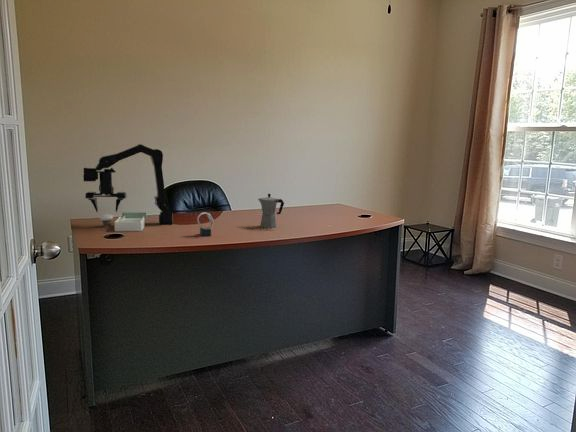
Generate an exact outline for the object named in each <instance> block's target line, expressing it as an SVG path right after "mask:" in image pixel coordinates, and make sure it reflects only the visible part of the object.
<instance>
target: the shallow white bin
mask: <svg viewBox="0 0 576 432" xmlns="http://www.w3.org/2000/svg"><path fill="white" fill-rule="evenodd" d="M121 219H122V216H119V217H118V218H117V219H116V220H115V221H114V232H142V231H143V229H144V227H145V225H146V220H145V217H143V218H142V220H141V221H140V222H120V220H121Z"/></svg>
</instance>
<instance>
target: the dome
mask: <svg viewBox="0 0 576 432" xmlns="http://www.w3.org/2000/svg"><path fill="white" fill-rule="evenodd" d="M99 217H100V221H102V222H103V221H108V220H111V221H113V220H114V214H101V215H100V216H99Z"/></svg>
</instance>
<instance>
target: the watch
mask: <svg viewBox="0 0 576 432" xmlns="http://www.w3.org/2000/svg"><path fill="white" fill-rule="evenodd" d="M205 214H206V217H207V218H208V220H209V222H210V225H209V226H207V227H203V225H202V224H201V222H200V217H201V216H202V215H205ZM196 219H197V220H196V222H197V224H198V226H199V227H200V228H199V235H200V236H201V237H211V236H212V230H211V228H212V227H213V225H214V222H215V220H214V218H213V216H212V215H211V213H210V212H201V213H199V214H198V216H197V218H196Z"/></svg>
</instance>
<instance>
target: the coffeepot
mask: <svg viewBox="0 0 576 432" xmlns="http://www.w3.org/2000/svg"><path fill="white" fill-rule="evenodd" d="M257 200H258V201H259V202H260V203H259V204H260V206H261V212H262V215H261V218H260V219H261V220H260V225H259V227H261V228H263V229H275V228H277V221H276V220H277V219H276V214H277V215H281V213H282V210H283V208H284V205H285V202H284V200H283V199H282V198H274V197H271V193H268V194H267V197H260V198H258V199H257ZM278 203H280V204H279V205H280V206H279V208H278V212H276V209H277V204H278Z"/></svg>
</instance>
